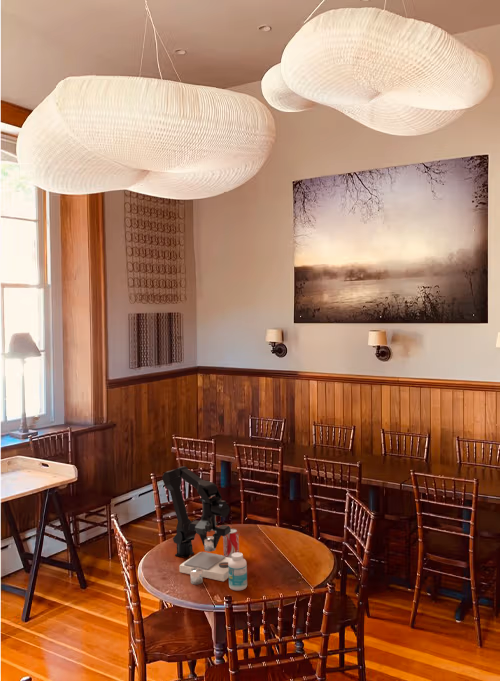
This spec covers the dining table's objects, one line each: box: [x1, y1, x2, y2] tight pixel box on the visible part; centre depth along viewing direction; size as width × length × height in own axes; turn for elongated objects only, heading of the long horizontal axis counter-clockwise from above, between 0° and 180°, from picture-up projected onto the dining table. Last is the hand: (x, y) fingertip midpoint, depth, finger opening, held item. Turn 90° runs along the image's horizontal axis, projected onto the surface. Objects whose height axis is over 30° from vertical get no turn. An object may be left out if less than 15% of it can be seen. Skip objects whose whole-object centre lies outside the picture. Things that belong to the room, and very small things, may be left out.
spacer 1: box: [189, 568, 204, 586], centre depth 253 cm, size 5×5×5 cm
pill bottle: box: [228, 551, 248, 591], centre depth 247 cm, size 8×7×14 cm
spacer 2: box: [203, 535, 217, 553], centre depth 270 cm, size 5×5×5 cm
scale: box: [179, 551, 232, 582], centre depth 265 cm, size 22×16×4 cm
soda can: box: [222, 528, 240, 558], centre depth 278 cm, size 7×7×12 cm
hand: (209, 547), depth 270 cm, fingers closed on spacer 2, 5 cm apart
